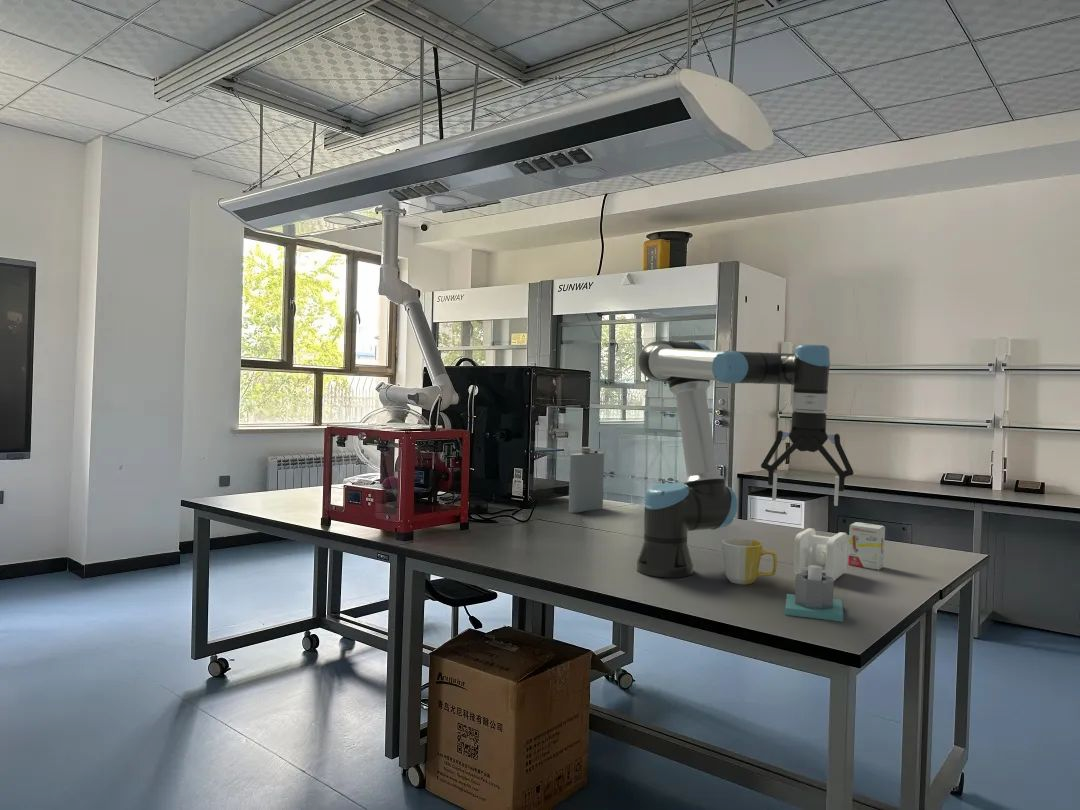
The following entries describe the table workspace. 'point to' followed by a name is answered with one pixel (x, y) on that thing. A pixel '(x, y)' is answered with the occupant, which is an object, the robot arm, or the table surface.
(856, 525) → the ink box
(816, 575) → the shaft block
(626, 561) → the table surface
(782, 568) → the table surface
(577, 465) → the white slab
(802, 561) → the cable organizer
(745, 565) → the mug
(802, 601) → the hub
